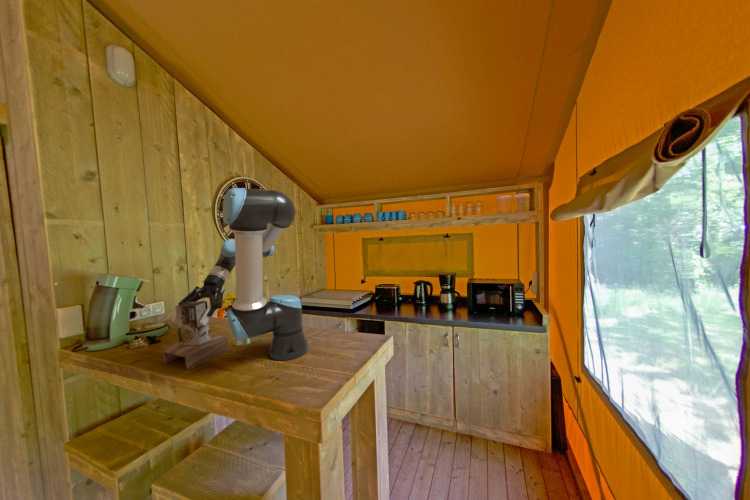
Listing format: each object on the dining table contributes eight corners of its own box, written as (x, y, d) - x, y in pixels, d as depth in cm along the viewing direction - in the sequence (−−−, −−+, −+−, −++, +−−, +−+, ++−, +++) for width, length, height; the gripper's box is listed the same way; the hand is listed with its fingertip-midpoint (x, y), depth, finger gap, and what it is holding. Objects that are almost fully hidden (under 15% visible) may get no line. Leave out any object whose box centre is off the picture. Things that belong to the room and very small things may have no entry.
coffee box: (211, 338, 109) (208, 300, 108) (199, 345, 102) (195, 305, 101) (191, 338, 110) (188, 301, 109) (178, 345, 103) (174, 305, 102)
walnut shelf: (228, 350, 110) (227, 337, 110) (188, 369, 96) (187, 354, 95) (204, 345, 117) (203, 332, 117) (163, 362, 102) (161, 347, 102)
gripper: (244, 283, 116) (220, 328, 103) (200, 283, 122) (171, 325, 109) (234, 273, 111) (207, 320, 97) (188, 273, 117) (156, 317, 103)
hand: (188, 323), depth 103 cm, fingers open, 13 cm apart
